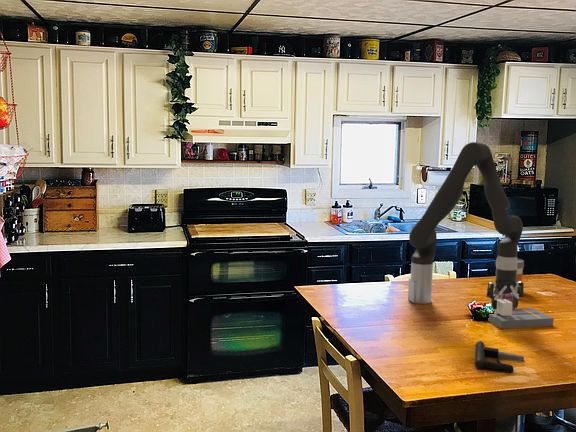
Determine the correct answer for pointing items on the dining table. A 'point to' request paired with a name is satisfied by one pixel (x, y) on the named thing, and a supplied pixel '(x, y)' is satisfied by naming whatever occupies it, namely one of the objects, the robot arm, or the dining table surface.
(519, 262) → the reusable coffee cup
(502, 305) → the slider knob
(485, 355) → the door handle
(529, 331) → the dining table surface
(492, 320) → the console board
